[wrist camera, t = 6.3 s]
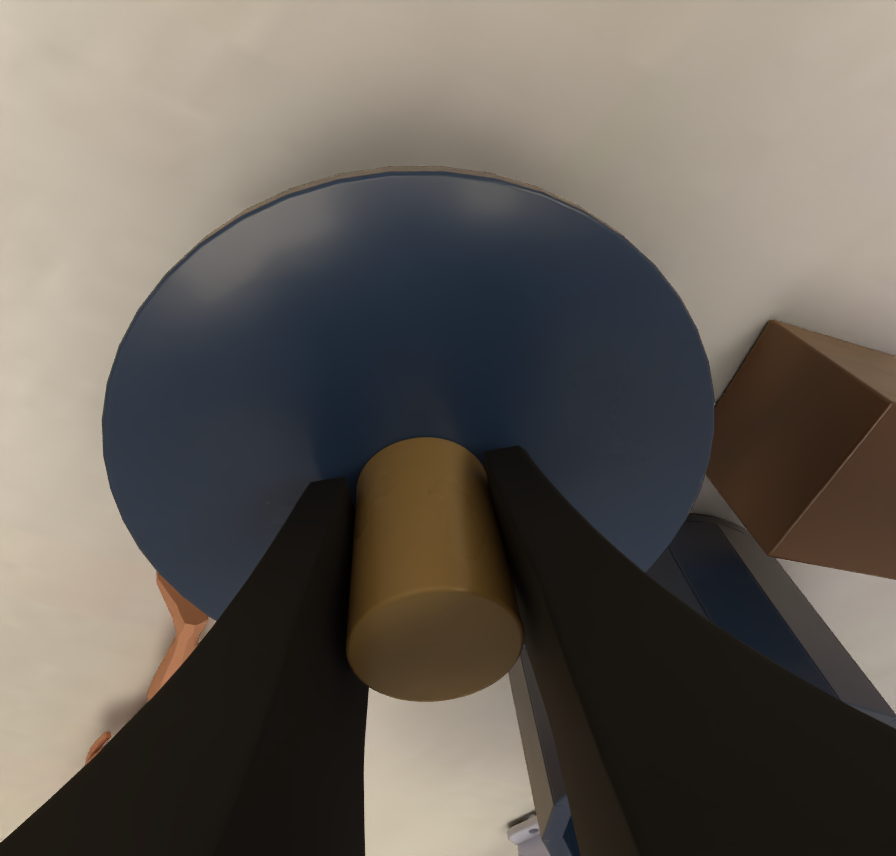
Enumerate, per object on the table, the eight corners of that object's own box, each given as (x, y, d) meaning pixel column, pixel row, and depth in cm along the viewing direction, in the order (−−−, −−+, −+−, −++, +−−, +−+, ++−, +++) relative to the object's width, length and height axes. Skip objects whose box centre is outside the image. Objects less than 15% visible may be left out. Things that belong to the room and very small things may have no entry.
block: (804, 477, 18) (908, 583, 15) (686, 450, 17) (766, 557, 14) (898, 356, 16) (1048, 445, 13) (770, 317, 15) (891, 401, 12)
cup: (598, 727, 25) (657, 914, 20) (446, 622, 21) (468, 829, 15) (818, 613, 22) (959, 796, 17) (698, 460, 18) (841, 645, 12)
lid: (405, 686, 16) (412, 888, 12) (2, 452, 11) (-207, 671, 7) (776, 458, 12) (947, 634, 9) (448, -33, 7) (513, -118, 4)
